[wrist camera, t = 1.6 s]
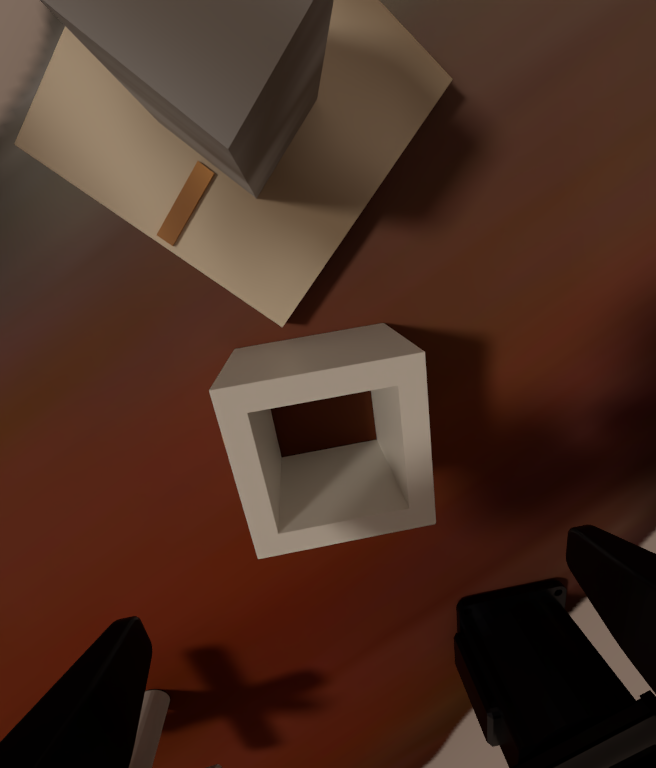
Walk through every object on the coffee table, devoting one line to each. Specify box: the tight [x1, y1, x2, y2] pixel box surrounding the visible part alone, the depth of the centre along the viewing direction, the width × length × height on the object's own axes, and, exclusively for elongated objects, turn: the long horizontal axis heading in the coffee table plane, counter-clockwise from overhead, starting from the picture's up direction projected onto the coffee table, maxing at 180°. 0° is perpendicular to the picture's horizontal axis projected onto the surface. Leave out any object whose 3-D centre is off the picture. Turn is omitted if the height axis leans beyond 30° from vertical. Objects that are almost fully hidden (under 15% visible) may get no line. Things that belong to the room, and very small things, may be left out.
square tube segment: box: [209, 323, 436, 559], centre depth 14 cm, size 7×6×5 cm
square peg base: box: [15, 0, 453, 327], centre depth 9 cm, size 10×10×7 cm
